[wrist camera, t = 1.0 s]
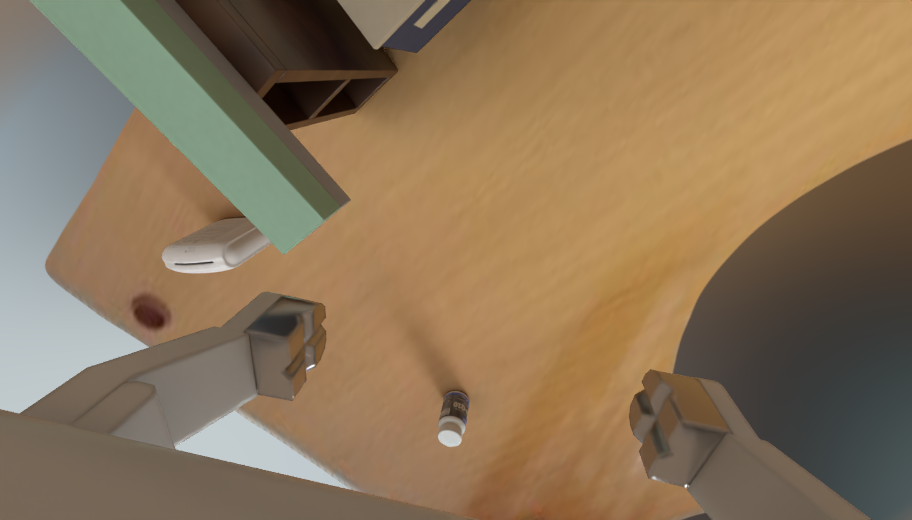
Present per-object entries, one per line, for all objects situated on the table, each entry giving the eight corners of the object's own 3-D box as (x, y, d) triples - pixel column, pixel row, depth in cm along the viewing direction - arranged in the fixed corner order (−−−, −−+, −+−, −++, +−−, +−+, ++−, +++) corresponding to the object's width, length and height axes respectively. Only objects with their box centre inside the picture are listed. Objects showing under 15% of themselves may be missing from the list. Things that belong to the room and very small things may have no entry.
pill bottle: (474, 401, 68) (469, 441, 61) (456, 412, 70) (449, 452, 63) (456, 386, 67) (449, 424, 60) (439, 397, 69) (429, 436, 62)
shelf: (398, 70, 45) (276, 70, 22) (354, 113, 48) (206, 152, 25) (315, -41, 41) (63, -181, 18) (273, 13, 44) (11, -48, 21)
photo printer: (225, 242, 60) (161, 280, 49) (215, 217, 58) (146, 251, 47) (283, 239, 58) (229, 278, 47) (274, 214, 57) (216, 248, 46)
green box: (351, 199, 25) (324, 220, 22) (314, 230, 27) (283, 255, 23) (55, -136, 19) (-49, -183, 16) (29, -71, 21) (-72, -100, 17)
